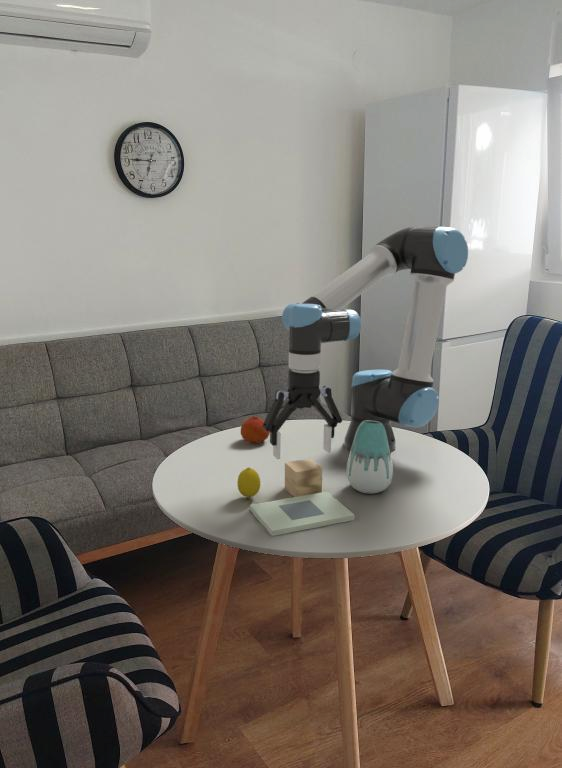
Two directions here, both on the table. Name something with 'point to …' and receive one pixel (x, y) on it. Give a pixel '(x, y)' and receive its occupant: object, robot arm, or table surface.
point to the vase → (370, 459)
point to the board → (300, 513)
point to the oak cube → (303, 477)
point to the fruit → (254, 430)
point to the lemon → (248, 483)
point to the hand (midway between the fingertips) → (302, 454)
